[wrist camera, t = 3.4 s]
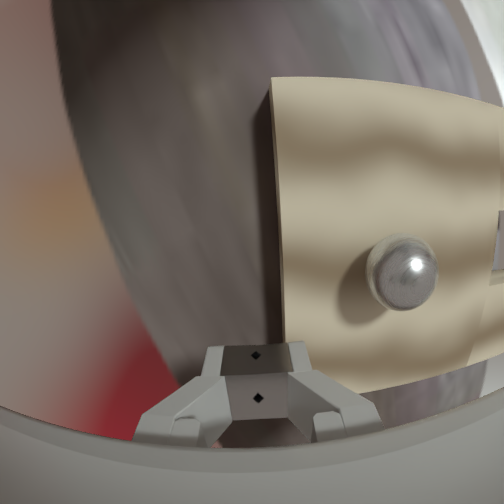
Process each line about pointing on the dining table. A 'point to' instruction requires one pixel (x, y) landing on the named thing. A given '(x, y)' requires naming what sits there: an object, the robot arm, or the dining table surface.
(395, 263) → the steel ball
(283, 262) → the hole deck
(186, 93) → the dining table surface
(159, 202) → the dining table surface
